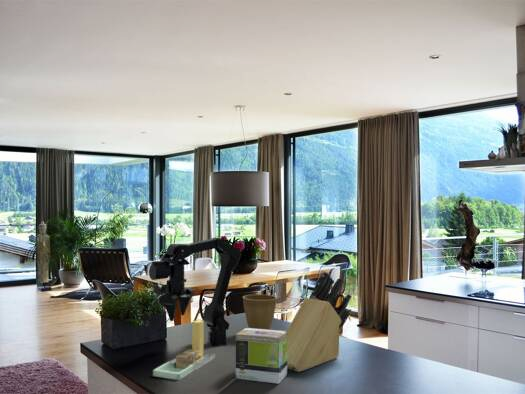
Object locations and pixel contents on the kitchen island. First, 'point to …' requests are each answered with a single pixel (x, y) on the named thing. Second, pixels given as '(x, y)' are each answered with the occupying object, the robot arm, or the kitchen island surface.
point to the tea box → (261, 355)
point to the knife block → (317, 326)
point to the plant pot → (259, 310)
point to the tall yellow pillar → (198, 336)
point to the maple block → (193, 354)
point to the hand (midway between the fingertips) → (177, 318)
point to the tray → (172, 371)
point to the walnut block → (183, 360)
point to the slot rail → (197, 361)
